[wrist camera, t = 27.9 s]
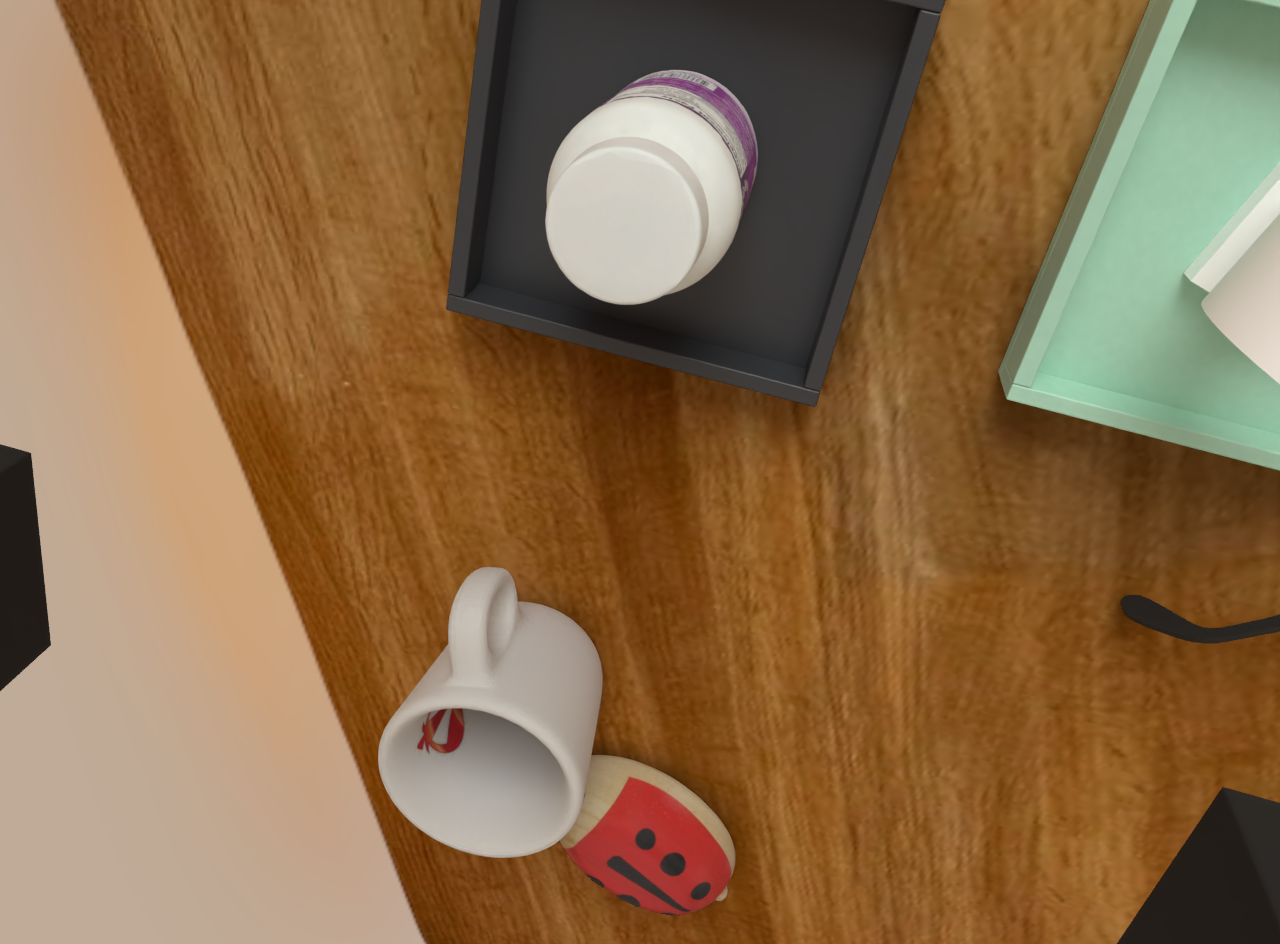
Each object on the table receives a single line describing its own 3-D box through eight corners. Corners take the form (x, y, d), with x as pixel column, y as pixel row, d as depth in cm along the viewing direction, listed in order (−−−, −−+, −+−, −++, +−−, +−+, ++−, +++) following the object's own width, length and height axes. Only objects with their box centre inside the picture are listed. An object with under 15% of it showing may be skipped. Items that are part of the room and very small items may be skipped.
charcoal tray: (518, -116, 32) (494, -117, 30) (942, -15, 31) (948, -9, 29) (467, 288, 39) (445, 310, 37) (817, 380, 38) (815, 408, 36)
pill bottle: (681, 266, 36) (626, 373, 28) (566, 154, 35) (473, 231, 27) (796, 151, 34) (774, 231, 25) (677, 27, 33) (613, 68, 24)
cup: (421, 516, 44) (338, 630, 37) (607, 519, 42) (557, 639, 35) (463, 718, 49) (397, 852, 42) (631, 728, 47) (591, 869, 40)
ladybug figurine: (599, 718, 47) (581, 774, 44) (775, 832, 49) (769, 895, 45) (525, 798, 50) (503, 856, 47) (691, 903, 52) (681, 966, 49)
